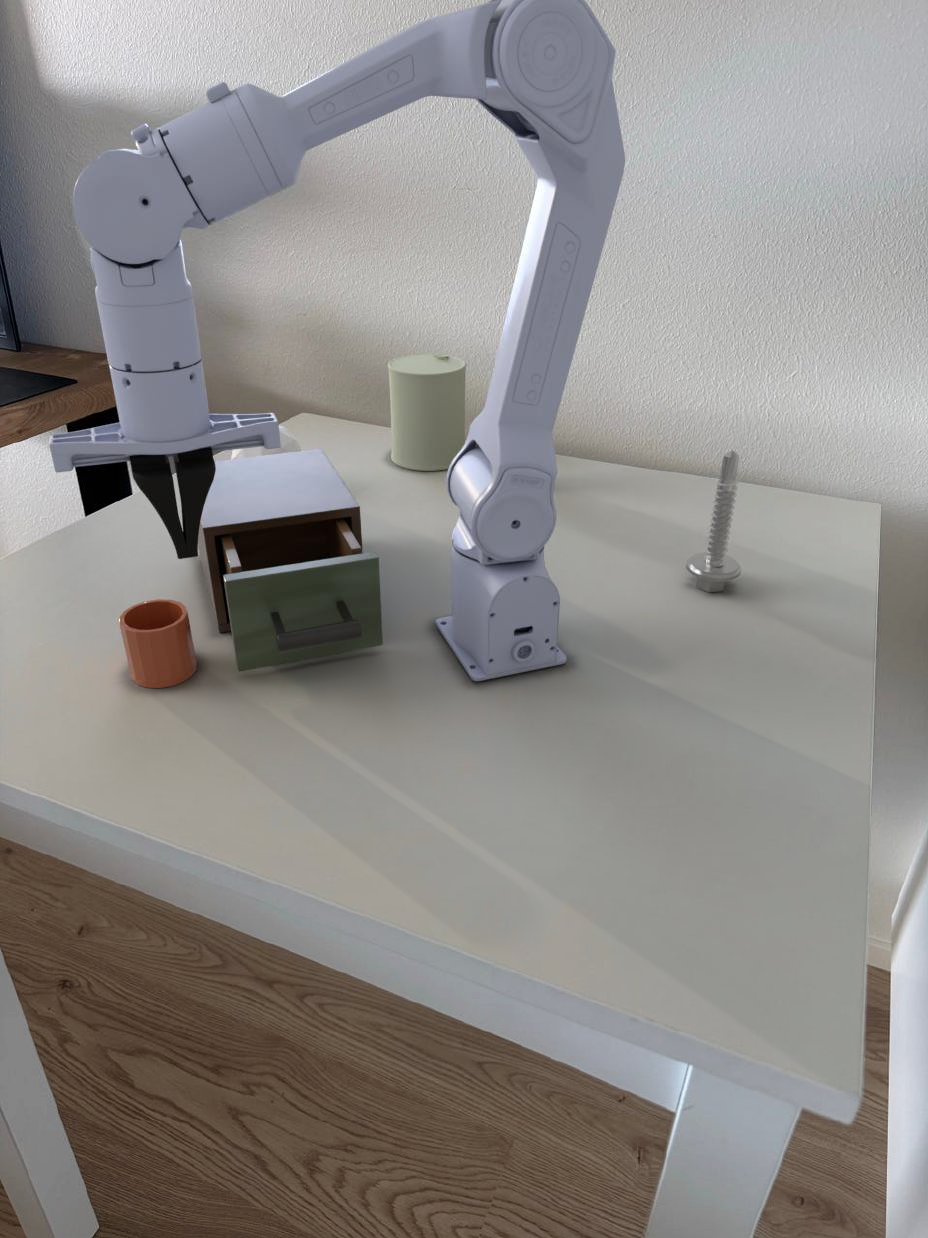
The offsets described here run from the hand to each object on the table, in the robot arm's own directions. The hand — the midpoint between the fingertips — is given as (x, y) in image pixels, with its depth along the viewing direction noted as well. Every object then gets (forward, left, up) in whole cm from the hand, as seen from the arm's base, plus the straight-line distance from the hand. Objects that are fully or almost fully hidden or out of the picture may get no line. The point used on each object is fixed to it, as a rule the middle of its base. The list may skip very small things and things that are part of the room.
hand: (186, 552), depth 65 cm
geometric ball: (+35, -11, -11) cm, 38 cm away
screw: (-1, -45, -11) cm, 46 cm away
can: (+39, -31, -11) cm, 51 cm away
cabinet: (+13, -8, -11) cm, 19 cm away
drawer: (+2, -8, -10) cm, 13 cm away
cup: (+2, +3, -11) cm, 11 cm away
